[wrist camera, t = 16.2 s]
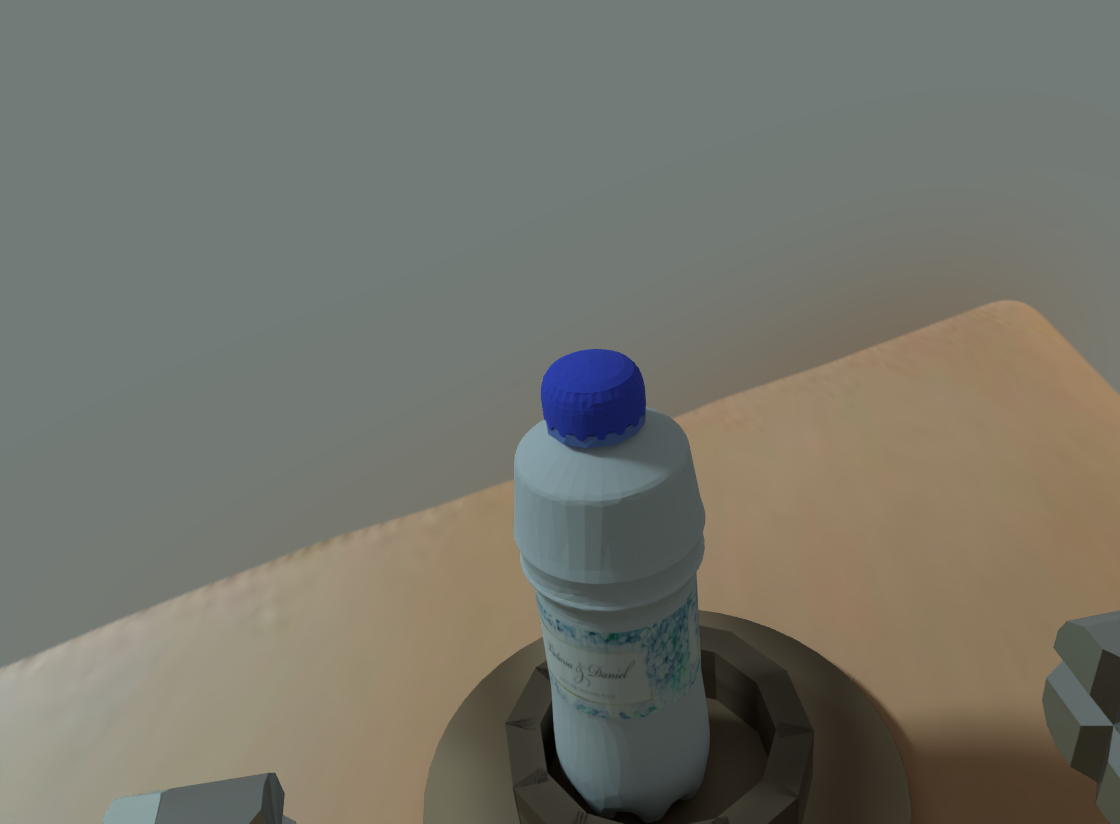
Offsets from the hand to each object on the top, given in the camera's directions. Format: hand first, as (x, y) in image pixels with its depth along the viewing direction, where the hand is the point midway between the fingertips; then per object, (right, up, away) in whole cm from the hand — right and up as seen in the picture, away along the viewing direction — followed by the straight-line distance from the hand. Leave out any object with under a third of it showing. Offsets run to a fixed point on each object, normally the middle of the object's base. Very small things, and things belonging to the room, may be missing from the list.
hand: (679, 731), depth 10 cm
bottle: (+2, -12, +32) cm, 35 cm away
